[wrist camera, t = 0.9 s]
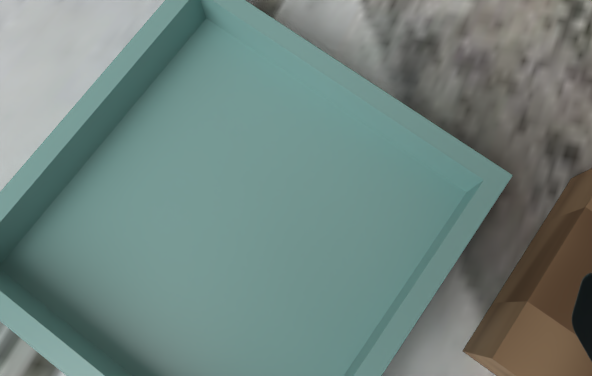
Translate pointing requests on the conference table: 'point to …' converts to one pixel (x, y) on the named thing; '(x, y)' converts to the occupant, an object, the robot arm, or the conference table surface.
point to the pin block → (542, 297)
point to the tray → (234, 210)
